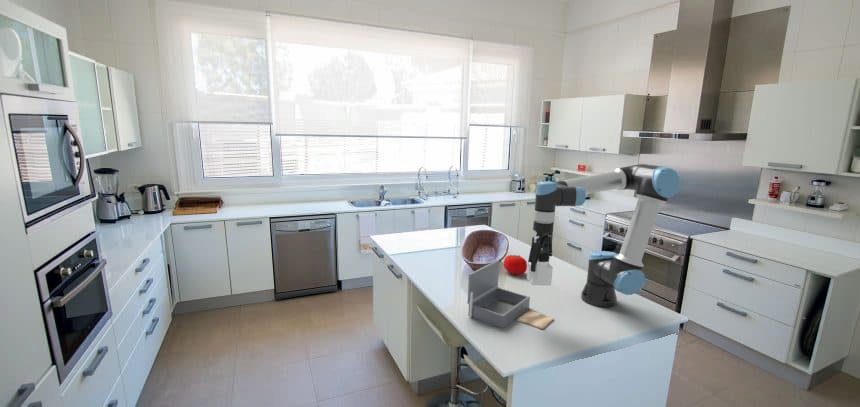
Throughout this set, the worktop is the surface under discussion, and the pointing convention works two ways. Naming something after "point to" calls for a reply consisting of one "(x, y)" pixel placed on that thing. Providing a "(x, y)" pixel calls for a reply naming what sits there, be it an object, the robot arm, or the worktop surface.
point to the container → (542, 270)
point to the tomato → (515, 264)
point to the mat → (535, 319)
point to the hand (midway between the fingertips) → (539, 274)
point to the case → (492, 297)
